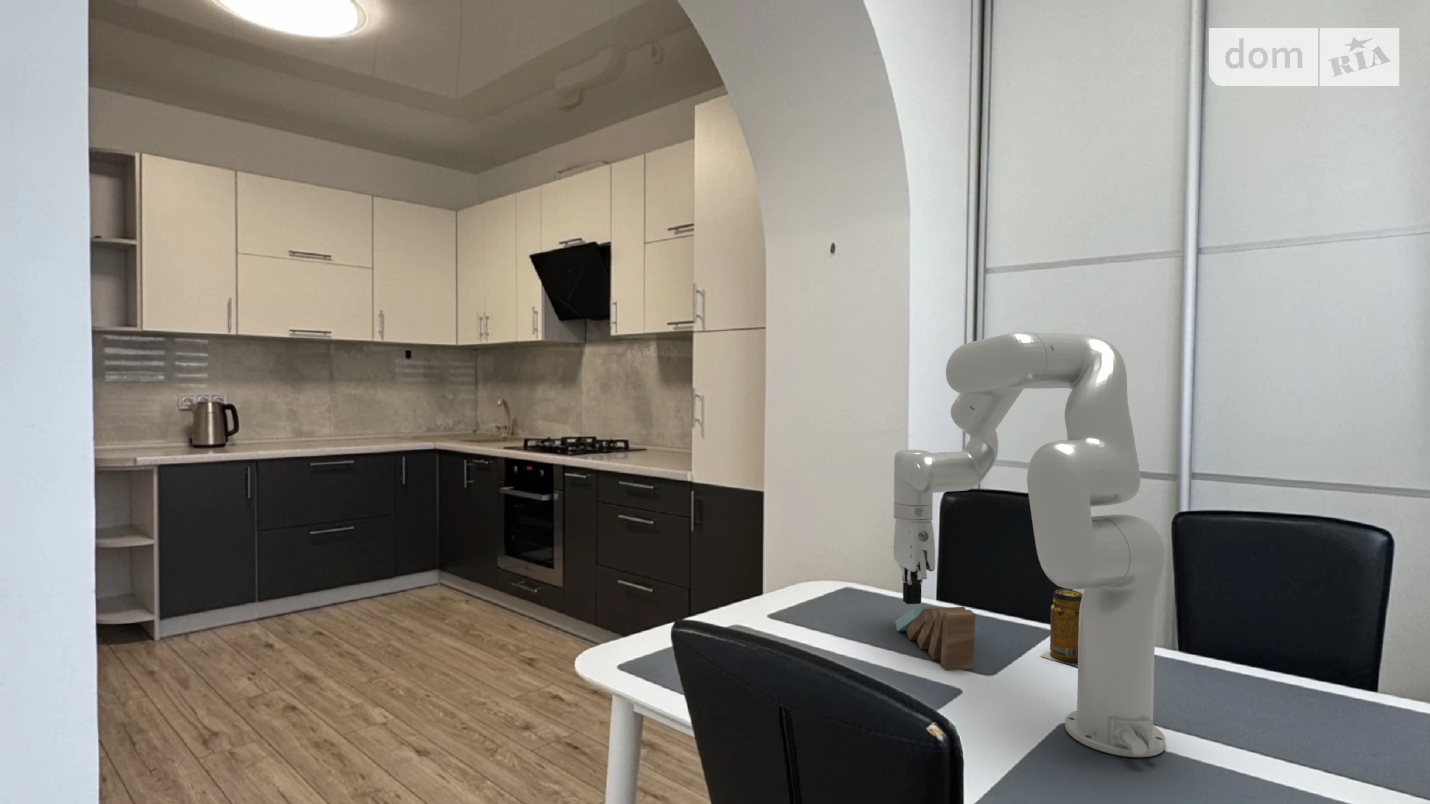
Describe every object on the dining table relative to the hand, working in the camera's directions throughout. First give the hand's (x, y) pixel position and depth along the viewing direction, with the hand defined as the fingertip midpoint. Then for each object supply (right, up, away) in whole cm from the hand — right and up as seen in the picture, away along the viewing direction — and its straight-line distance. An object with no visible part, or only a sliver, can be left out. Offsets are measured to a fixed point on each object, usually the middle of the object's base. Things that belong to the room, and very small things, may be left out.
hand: (912, 602), depth 150 cm
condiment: (+26, -7, -14) cm, 30 cm away
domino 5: (+3, -7, -18) cm, 20 cm away
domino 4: (+2, -6, -13) cm, 15 cm away
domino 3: (+1, -6, -8) cm, 10 cm away
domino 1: (0, -5, +2) cm, 5 cm away
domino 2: (+1, -5, -4) cm, 6 cm away
